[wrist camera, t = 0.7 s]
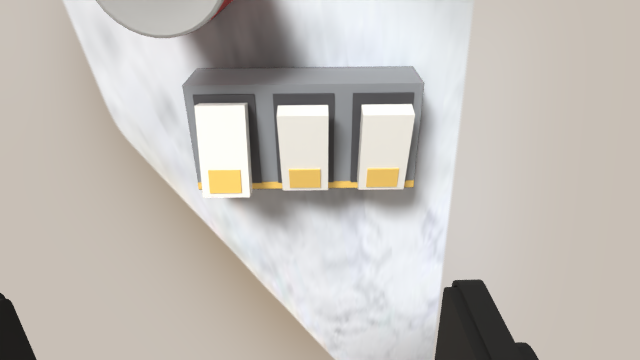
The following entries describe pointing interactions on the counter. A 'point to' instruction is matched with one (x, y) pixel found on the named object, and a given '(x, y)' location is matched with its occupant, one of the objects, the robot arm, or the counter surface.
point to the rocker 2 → (303, 146)
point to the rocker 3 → (384, 145)
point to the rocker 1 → (224, 149)
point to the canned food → (163, 15)
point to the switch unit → (306, 89)
